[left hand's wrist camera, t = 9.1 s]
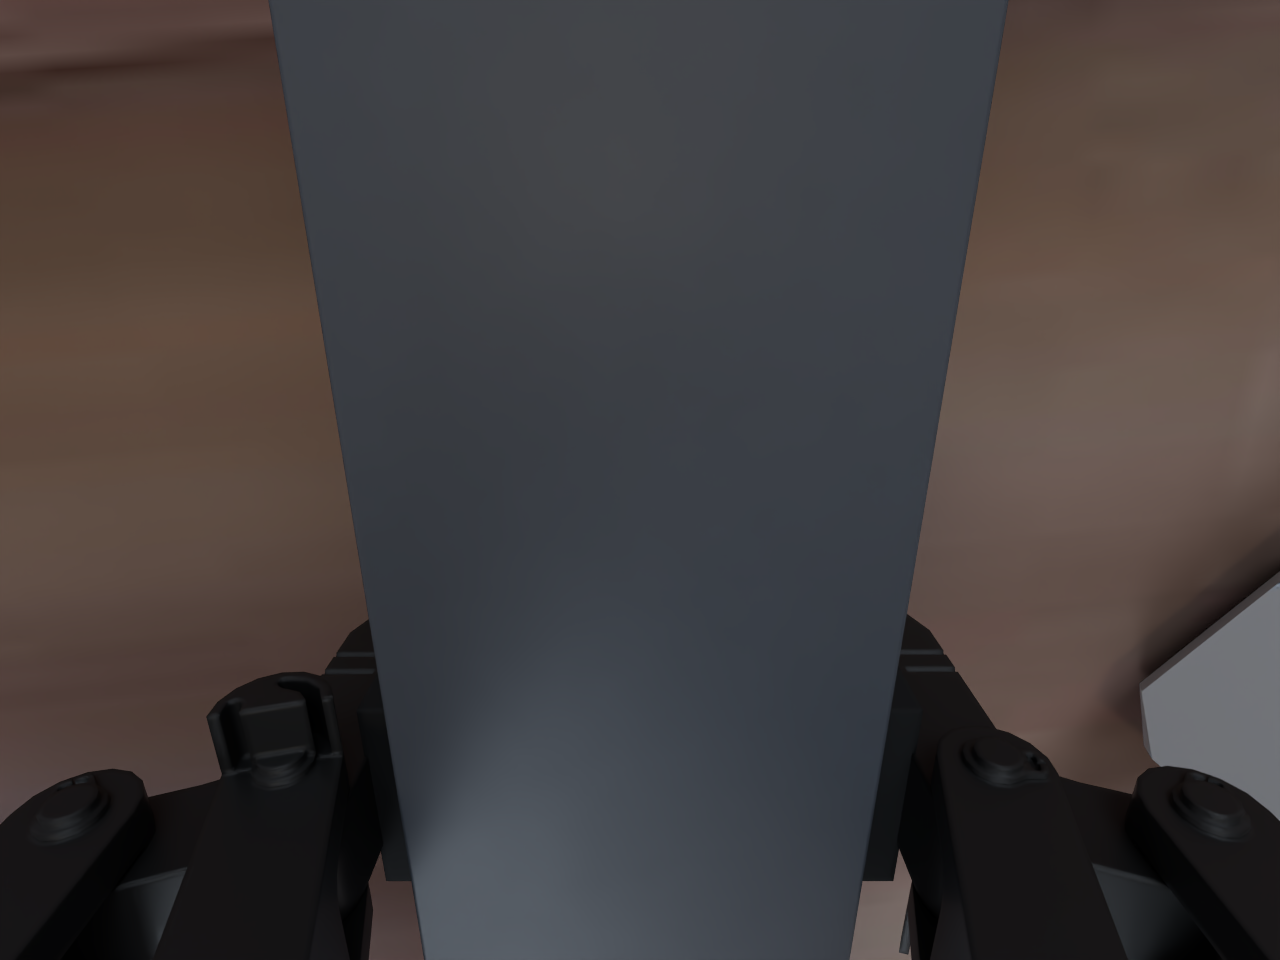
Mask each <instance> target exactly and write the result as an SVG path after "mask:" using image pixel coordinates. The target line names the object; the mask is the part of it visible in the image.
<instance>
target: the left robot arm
mask: <svg viewBox="0 0 1280 960" xmlns="http://www.w3.org/2000/svg"><path fill="white" fill-rule="evenodd" d="M207 721H208V725H209V728H210V732H211V736H212V739H213V743H214V747H215V750H216V754H217V758H218V762H219V765H220V769H221V773H222V776H221V779H220V780H217V781H213V782H210V783H207V784H203V785H200V786H195V787H191V788H187V789H182V790H178V791H173V792H169V793H165V794H160V795H156V796H152V797H148V796H147V793H146V790H145V787H144V784H143V781H142V780H141V779H140V778H139V777H138V776H136V775H135V774H134V773H133V772H131V771H124V770H118V769H107V770H100V771H93V772H87V773H84V774H81V775H78V776H75V777H73V778H69V779H67V780H64V781H61V782H59V783H57V784H55V785H53V786H51V787H50V788H48V789H46V790H44V791H42V792H40V793H39V794H37V795H35V796H33V797H32V798H31V799H29V800H28V801H27V802H26V803H24V804H23V805H22V806H21V807H19V808H18V809H17V810H16V811H14V812H13V813H12V814H11V815H10V816H9V817H7V818H6V819H5V820H4V821H3V822H2V823H1V824H0V960H369V949H370V938H371V927H372V916H373V907H372V900H371V894H370V889H369V883H368V882H369V879H370V877H371V874H372V872H373V869H374V867H375V864H376V862H377V859H378V857H379V854H380V852H381V854H382V860H383V865H384V871H385V877H386V881H411V875H410V869H409V862H408V856H407V850H406V844H405V838H404V832H403V826H402V819H401V813H400V807H399V801H398V795H397V789H396V782H395V776H394V770H393V764H392V758H391V752H390V745H389V739H388V733H387V727H386V721H385V715H384V708H383V702H382V696H381V690H380V684H379V678H378V672H377V665H376V659H375V653H374V647H373V641H372V635H371V628H370V622H369V619H368V620H367V621H366V622H364V623H363V624H362V625H360V626H359V627H357V628H356V629H355V630H353V631H352V632H350V634H349V635H348V637H347V638H346V640H345V641H344V643H343V644H342V646H341V647H340V649H339V650H338V652H337V656H336V657H334V658H333V659H332V661H331V662H330V664H329V665H328V667H327V668H326V670H325V674H322V675H321V676H318V675H314V674H310V673H306V672H286V673H279V674H274V675H270V676H266V677H262V678H258V679H256V680H254V681H252V682H249V683H247V684H245V685H243V686H241V687H238V688H236V689H235V690H233V691H232V692H231V693H229V694H228V695H226V696H225V697H224V698H222V699H221V700H220V701H218V702H217V703H216V705H215V706H214V707H213V709H212V710H211V711H210V713H209V714H208V715H207ZM899 849H900V852H901V854H902V857H903V859H904V862H905V864H906V867H907V869H908V872H909V874H910V877H911V879H912V883H911V889H910V894H909V899H908V905H907V910H906V915H905V920H904V926H903V931H902V936H901V943H900V949H899V952H900V953H904V954H908V953H909V948H910V947H911V958H912V960H1280V821H1279V820H1278V819H1277V818H1276V817H1275V816H1274V815H1273V814H1272V813H1271V812H1270V811H1269V810H1268V809H1267V808H1265V807H1264V806H1263V805H1262V804H1260V803H1259V802H1258V801H1257V800H1255V799H1254V798H1253V797H1251V796H1250V795H1249V794H1248V793H1246V792H1244V791H1242V790H1240V789H1239V788H1237V787H1235V786H1233V785H1231V784H1229V783H1227V782H1226V781H1224V780H1222V779H1220V778H1217V777H1214V776H1211V775H1209V774H1205V773H1202V772H1199V771H1196V770H1194V769H1188V768H1181V767H1174V766H1162V767H1156V768H1149V769H1148V770H1146V771H1145V772H1144V773H1143V774H1142V775H1140V776H1139V777H1138V779H1137V782H1136V785H1135V788H1134V791H1133V794H1128V793H1124V792H1119V791H1115V790H1111V789H1106V788H1102V787H1097V786H1093V785H1089V784H1084V783H1080V782H1076V781H1073V780H1070V779H1066V778H1063V777H1060V776H1059V775H1058V773H1057V771H1056V770H1055V768H1054V767H1053V765H1052V764H1051V762H1050V761H1049V759H1048V758H1047V757H1046V756H1045V755H1044V754H1042V753H1041V752H1040V751H1039V750H1038V749H1036V748H1035V747H1034V746H1033V745H1032V744H1030V743H1029V742H1027V741H1025V740H1023V739H1021V738H1019V737H1017V736H1015V735H1013V734H1011V733H1009V732H1005V731H1001V730H998V729H996V728H995V726H994V725H993V723H992V722H991V720H990V719H989V717H988V716H987V714H986V713H985V711H984V710H983V709H982V707H981V706H980V704H979V703H978V701H977V700H976V698H975V697H974V695H973V694H972V692H971V691H970V689H969V688H968V686H967V685H966V683H965V682H964V680H963V679H962V677H961V676H960V674H959V673H958V672H955V667H954V666H953V664H952V663H951V661H950V660H949V658H948V657H947V655H944V653H943V649H942V648H941V646H940V645H939V643H938V642H937V640H936V639H935V638H934V636H933V635H932V633H931V632H930V630H929V629H927V628H926V627H924V626H923V625H922V624H920V623H919V622H917V621H916V620H915V619H913V618H912V617H910V616H909V615H908V614H907V615H906V621H905V627H904V633H903V639H902V645H901V651H900V657H899V663H898V669H897V675H896V681H895V687H894V693H893V699H892V705H891V711H890V717H889V723H888V729H887V735H886V742H885V748H884V754H883V760H882V766H881V772H880V778H879V784H878V790H877V796H876V802H875V808H874V814H873V820H872V826H871V832H870V838H869V844H868V850H867V856H866V862H865V868H864V874H863V880H862V881H893V880H894V874H895V868H896V863H897V857H898V851H899Z"/></svg>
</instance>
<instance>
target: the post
mask: <svg viewBox="0 0 1280 960" xmlns="http://www.w3.org/2000/svg"><path fill="white" fill-rule="evenodd" d="M269 6H270V12H271V19H272V25H273V31H274V37H275V43H276V49H277V56H278V62H279V68H280V74H281V80H282V86H283V93H284V99H285V105H286V111H287V117H288V123H289V129H290V136H291V142H292V148H293V154H294V160H295V166H296V173H297V179H298V185H299V191H300V197H301V203H302V210H303V216H304V222H305V228H306V234H307V240H308V247H309V253H310V259H311V265H312V271H313V277H314V283H315V290H316V296H317V302H318V308H319V314H320V320H321V327H322V333H323V339H324V345H325V351H326V357H327V364H328V370H329V376H330V382H331V388H332V394H333V400H334V407H335V413H336V419H337V425H338V431H339V437H340V444H341V450H342V456H343V462H344V468H345V474H346V481H347V487H348V493H349V499H350V505H351V511H352V518H353V524H354V530H355V536H356V542H357V548H358V554H359V561H360V567H361V573H362V579H363V585H364V591H365V598H366V604H367V610H368V616H369V622H370V628H371V635H372V641H373V647H374V653H375V659H376V665H377V672H378V678H379V684H380V690H381V696H382V702H383V708H384V715H385V721H386V727H387V733H388V739H389V745H390V752H391V758H392V764H393V770H394V776H395V782H396V789H397V795H398V801H399V807H400V813H401V819H402V826H403V832H404V838H405V844H406V850H407V856H408V862H409V869H410V875H411V881H412V887H413V893H414V899H415V906H416V912H417V918H418V924H419V930H420V936H421V943H422V949H423V955H424V960H849V959H850V953H851V946H852V940H853V934H854V928H855V922H856V916H857V910H858V904H859V898H860V892H861V886H862V880H863V874H864V868H865V862H866V856H867V850H868V844H869V838H870V832H871V826H872V820H873V814H874V808H875V802H876V796H877V790H878V784H879V778H880V772H881V766H882V760H883V754H884V748H885V742H886V735H887V729H888V723H889V717H890V711H891V705H892V699H893V693H894V687H895V681H896V675H897V669H898V663H899V657H900V651H901V645H902V639H903V633H904V627H905V621H906V615H907V609H908V603H909V597H910V591H911V585H912V579H913V573H914V567H915V561H916V555H917V549H918V543H919V537H920V531H921V525H922V518H923V512H924V506H925V500H926V494H927V488H928V482H929V476H930V470H931V464H932V458H933V452H934V446H935V440H936V434H937V428H938V422H939V416H940V410H941V404H942V398H943V392H944V386H945V380H946V374H947V368H948V362H949V356H950V350H951V344H952V338H953V332H954V326H955V320H956V314H957V307H958V301H959V295H960V289H961V283H962V277H963V271H964V265H965V259H966V253H967V247H968V241H969V235H970V229H971V223H972V217H973V211H974V205H975V199H976V193H977V187H978V181H979V175H980V169H981V163H982V157H983V151H984V145H985V139H986V133H987V127H988V121H989V115H990V109H991V103H992V96H993V90H994V84H995V78H996V72H997V66H998V60H999V54H1000V48H1001V42H1002V36H1003V30H1004V24H1005V18H1006V12H1007V6H1008V0H269Z"/></svg>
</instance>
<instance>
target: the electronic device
mask: <svg viewBox="0 0 1280 960" xmlns="http://www.w3.org/2000/svg"><path fill="white" fill-rule="evenodd" d="M1139 687H1140V701H1141V714H1142V728H1143V742H1144V747H1145V748H1146V750H1147V752H1148V753H1149V755H1150V756H1151V758H1152V759H1153V760H1154V761H1155V762H1156V763H1157V764H1158V765H1160V766H1161V767H1162V766H1174V767H1181V768H1188V769H1194V770H1196V771H1199V772H1202V773H1205V774H1209V775H1211V776H1214V777H1217V778H1220V779H1222V780H1224V781H1226V782H1227V783H1229V784H1231V785H1233V786H1235V787H1237V788H1239V789H1240V790H1242V791H1244V792H1246V793H1248V794H1249V795H1250V796H1251V797H1253V798H1254V799H1255V800H1257V801H1258V802H1259V803H1260V804H1262V805H1263V806H1264V807H1265V808H1267V809H1268V810H1269V811H1270V812H1271V813H1272V814H1273V815H1274V816H1275V817H1276V818H1277V819H1278V820H1279V821H1280V571H1279V572H1278V573H1277V574H1276V575H1274V576H1273V577H1272V578H1271V579H1269V580H1268V581H1267V582H1266V583H1264V584H1263V585H1262V586H1261V587H1259V588H1258V589H1257V590H1256V591H1254V592H1253V593H1252V594H1251V595H1249V596H1248V597H1247V598H1246V599H1244V600H1243V601H1242V602H1240V603H1239V604H1238V605H1237V606H1235V607H1234V608H1233V609H1232V610H1230V611H1229V612H1228V613H1227V614H1225V615H1224V616H1223V617H1222V618H1220V619H1219V620H1218V621H1217V622H1215V623H1214V624H1213V625H1212V626H1210V627H1209V628H1208V629H1207V630H1205V631H1204V632H1203V633H1202V634H1200V635H1199V636H1198V637H1197V638H1195V639H1194V640H1193V641H1192V642H1190V643H1189V644H1188V645H1187V646H1185V647H1184V648H1183V649H1182V650H1180V651H1179V652H1178V653H1177V654H1175V655H1174V656H1173V657H1172V658H1170V659H1169V660H1168V661H1167V662H1165V663H1164V664H1163V665H1162V666H1160V667H1159V668H1158V669H1157V670H1155V671H1154V672H1153V673H1152V674H1150V675H1149V676H1148V677H1147V678H1145V679H1144V680H1143V681H1142V682H1140V683H1139Z"/></svg>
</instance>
